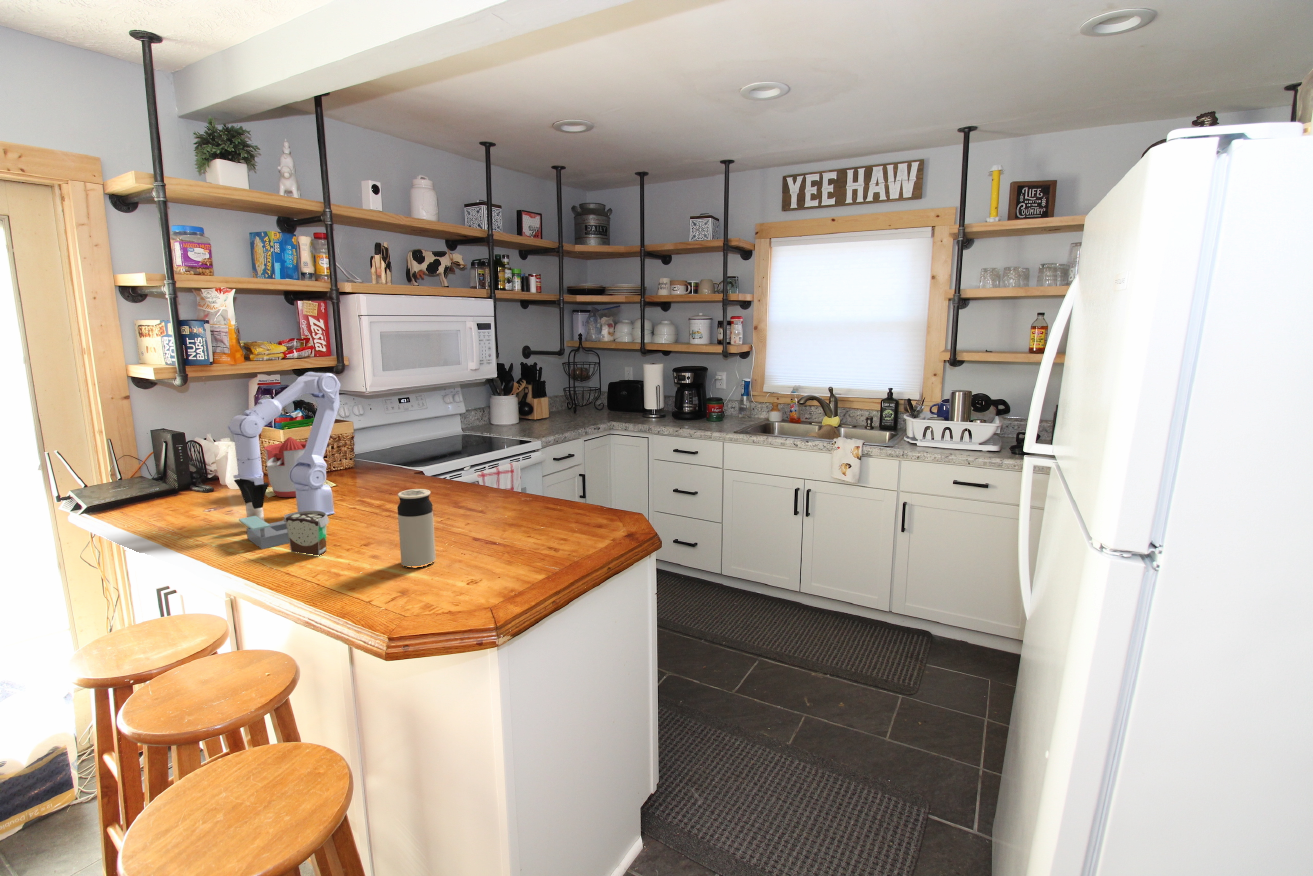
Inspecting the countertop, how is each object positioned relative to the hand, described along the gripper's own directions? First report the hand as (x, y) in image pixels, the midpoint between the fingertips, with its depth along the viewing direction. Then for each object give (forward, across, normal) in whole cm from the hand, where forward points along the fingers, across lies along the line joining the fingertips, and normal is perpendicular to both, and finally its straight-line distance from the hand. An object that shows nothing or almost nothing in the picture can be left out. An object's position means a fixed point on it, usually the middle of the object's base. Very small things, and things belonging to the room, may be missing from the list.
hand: (253, 505), depth 179 cm
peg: (+8, 0, 0) cm, 8 cm away
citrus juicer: (+8, -34, +21) cm, 41 cm away
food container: (+8, +29, +5) cm, 30 cm away
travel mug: (+8, +57, +19) cm, 61 cm away
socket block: (+8, +12, +2) cm, 14 cm away
